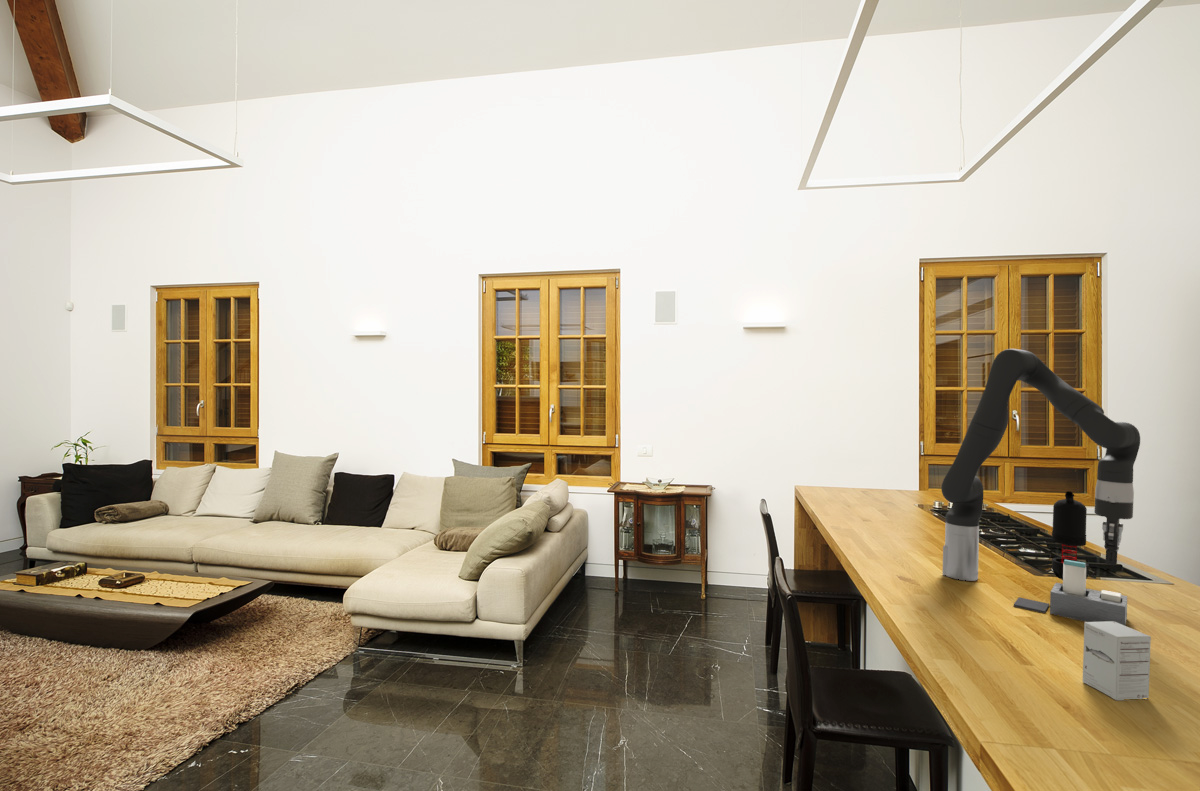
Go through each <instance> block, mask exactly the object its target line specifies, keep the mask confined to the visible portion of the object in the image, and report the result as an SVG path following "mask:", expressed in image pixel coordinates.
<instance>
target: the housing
mask: <svg viewBox="0 0 1200 791" xmlns="http://www.w3.org/2000/svg"><path fill="white" fill-rule="evenodd" d="M1101 591H1102V590H1097V589H1090V588H1086V596H1081V595H1076V594H1071V593H1066V592H1063V583H1060V582H1055V583H1054V585H1053V586H1052V589H1051V590H1050V593H1049V594H1050V597H1049V600H1050V601H1049V602H1050V603H1049V614H1050V615H1052V614H1054V616H1057V615H1059V616H1058V617H1061V616H1062V618H1067V619H1071V620H1075V621H1079V620H1080V622H1084V623H1085V622H1105V621H1114V622H1117V623H1120V624H1122V625H1124V626H1126V625H1127V621H1126V620H1128V596H1127V595H1124V594H1121V602H1116V601H1111V600H1106V599H1101Z"/></svg>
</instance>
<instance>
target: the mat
mask: <svg viewBox="0 0 1200 791" xmlns="http://www.w3.org/2000/svg"><path fill="white" fill-rule="evenodd" d="M1013 607H1014V608H1020V609H1023V610H1028V611H1032V610H1033V611H1032V612H1036V611H1037V613H1041V612H1042V614H1046V613H1047V611H1048V609H1049V608H1050V603H1048V602H1043V601H1038V600H1035V599H1034V600H1033V599H1028V598H1023V597H1018V598H1017V599H1016V601H1014V603H1013ZM1045 612H1046V613H1045Z"/></svg>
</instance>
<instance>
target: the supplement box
mask: <svg viewBox="0 0 1200 791" xmlns="http://www.w3.org/2000/svg"><path fill="white" fill-rule="evenodd" d="M1151 640H1152V636H1151V635H1148V634H1145V633H1143V632H1141V631H1140V630H1139V631H1138V630H1136V629H1134V628H1132V627H1130V626H1124V625H1122V624H1120V623H1117V622H1114V621H1105V622H1084V628H1083V654H1082V655H1083V656H1082V682H1083V683H1084V684H1087V685H1088V686H1090V687H1091V688H1094V689H1096V690H1098V691H1099V692H1101V693H1103V694H1105V695H1106V696H1108V697H1110V698H1112V699H1113V700H1115V701H1125V700H1124V699H1143V698H1149V696H1150V695H1149V694H1150V673H1151V672H1150V670H1151V668H1150V667H1151V666H1150V665H1151Z"/></svg>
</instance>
